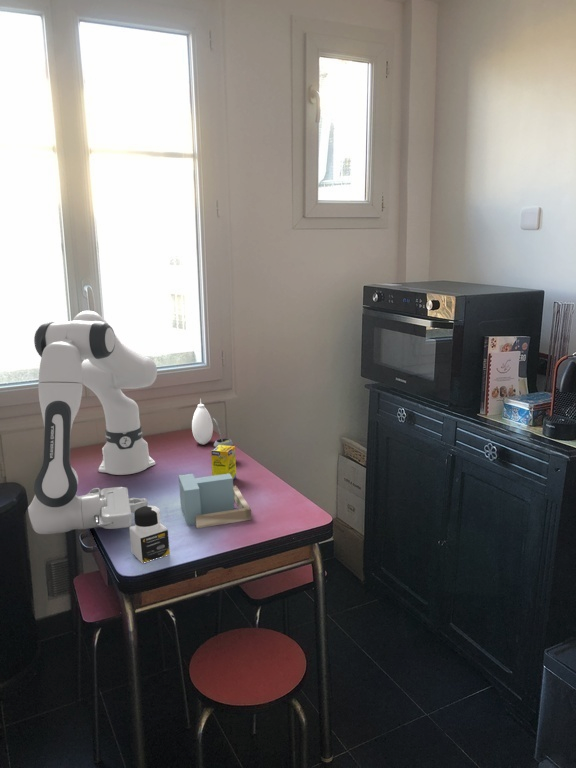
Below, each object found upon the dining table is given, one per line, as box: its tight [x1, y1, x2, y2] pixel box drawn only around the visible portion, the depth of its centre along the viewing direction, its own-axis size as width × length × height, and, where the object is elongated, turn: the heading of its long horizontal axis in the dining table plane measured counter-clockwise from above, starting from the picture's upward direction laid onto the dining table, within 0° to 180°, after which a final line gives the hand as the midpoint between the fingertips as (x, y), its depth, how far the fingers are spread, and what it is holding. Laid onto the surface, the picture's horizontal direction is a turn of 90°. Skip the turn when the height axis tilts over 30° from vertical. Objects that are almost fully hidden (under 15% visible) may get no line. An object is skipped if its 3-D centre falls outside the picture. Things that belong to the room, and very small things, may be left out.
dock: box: [195, 485, 252, 529], centre depth 176 cm, size 18×15×3 cm
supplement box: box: [210, 445, 237, 481], centre depth 198 cm, size 6×6×11 cm
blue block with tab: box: [178, 472, 236, 526], centre depth 175 cm, size 12×14×10 cm
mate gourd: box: [212, 417, 235, 450], centre depth 214 cm, size 8×8×15 cm
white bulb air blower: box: [191, 397, 214, 446], centre depth 234 cm, size 8×8×18 cm
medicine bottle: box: [128, 505, 171, 564], centre depth 152 cm, size 7×7×12 cm
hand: (147, 502), depth 170 cm, fingers closed
